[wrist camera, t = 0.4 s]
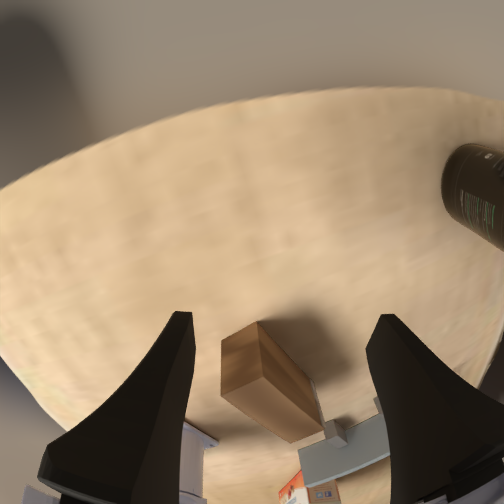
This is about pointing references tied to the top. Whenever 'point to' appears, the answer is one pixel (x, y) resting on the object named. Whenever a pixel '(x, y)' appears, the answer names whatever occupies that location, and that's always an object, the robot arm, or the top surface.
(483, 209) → the supplement bottle
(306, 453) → the grey plank with pegs
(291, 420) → the block
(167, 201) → the top surface
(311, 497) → the cracker box
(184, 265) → the top surface
